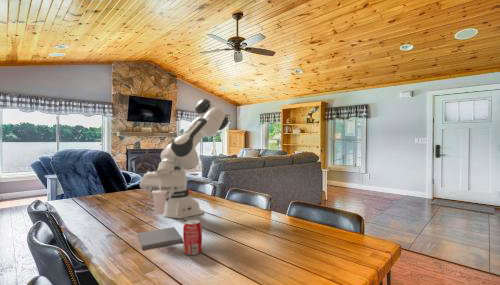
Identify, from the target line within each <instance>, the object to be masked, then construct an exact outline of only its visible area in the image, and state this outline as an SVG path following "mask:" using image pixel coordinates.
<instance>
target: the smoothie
mask: <svg viewBox="0 0 500 285" xmlns="http://www.w3.org/2000/svg"><path fill="white" fill-rule="evenodd" d="M151 193H152V194H153V198H152V199H153V208H154V213H155V215H164V211H165V206H166V194H167V190H161V181H160V187H159V190H153V191H152V192H151Z"/></svg>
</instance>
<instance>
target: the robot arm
mask: <svg viewBox="0 0 500 285" xmlns="http://www.w3.org/2000/svg"><path fill="white" fill-rule="evenodd" d="M194 110H195V113H196V114H197V115H199V116H197V117H195V119H194V120H193V121H191V122H190V124H189V125H188V126H187V127H186V128H185V130H183V132H182V133H181V134H178V136H176V137H175V138H174V139H173V140H172V142H171V143H169V144H167V146H165V147H164V149H163V150H162V151H160V162H159V163H158V167H157V170H156V171H147V172H146V173H144V174H143V176H142V178H141V180H140V182H139V188H140V189H141V190H142V191H148V198H149V199H153V194H152V191H154V190H159V187H160V181H161V190H167V194H166V202H165V210H164V213H163V217H165V218H174V219H175V218H176V219H183V218H184V219H185V218H188V217H194V216H198V215H202V214H204V209H202V208H201V207H200V204H199V201H198V200H197V199H196V198H194V197H192V196H191V195H192V190H190V189H187V175H186V171H185V170H192V169H194V168H196V167H197V165H199V162H200V158H199V156H198V153H197V151H196V148H197V146H198V145H199V143H200V142H201V140H202V139H203V138H204V137H207V138H210V137H214V136H215V135H216V134H217V133H218V131H222V130H223V129H226V127H227V125H228V124H229V118H228V116H227V115H226V114H225V113H224V112H225V111H224V110H223V109H222V108H220V107H218V106H216V105H215V104H214V103H212V102H211V100H209V99H207V98H203V99H201V100H199V101H198V102H197V103H196V105H195V107H194Z"/></svg>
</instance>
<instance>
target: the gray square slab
mask: <svg viewBox="0 0 500 285" xmlns="http://www.w3.org/2000/svg"><path fill="white" fill-rule="evenodd" d="M137 237H138V241H139V244H140V248H141V250H147V249H152V248H153V249H154V248H158V247H163V246H169V245H173V244H178V243H183V236H181V234H180V232H178V230H177V229H176V228H175V227H174V226H172V227H166V228H160V229H154V230H149V231H148V230H147V231H142V232H141V231H140V232H137Z"/></svg>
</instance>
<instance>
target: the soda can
mask: <svg viewBox="0 0 500 285" xmlns="http://www.w3.org/2000/svg"><path fill="white" fill-rule="evenodd" d="M182 230H183V232H182V234H183V235H182V243H183V244H182V246H183V253H184V254H186V255H188V256H195V255H198V254H199V253H201V252H202V249H203V225H202V223H201V220H200V219H197V218H191V219H186V220H185V222H184V225H183V228H182Z"/></svg>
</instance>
